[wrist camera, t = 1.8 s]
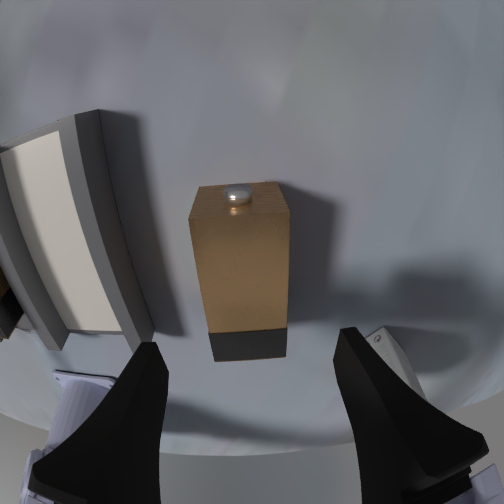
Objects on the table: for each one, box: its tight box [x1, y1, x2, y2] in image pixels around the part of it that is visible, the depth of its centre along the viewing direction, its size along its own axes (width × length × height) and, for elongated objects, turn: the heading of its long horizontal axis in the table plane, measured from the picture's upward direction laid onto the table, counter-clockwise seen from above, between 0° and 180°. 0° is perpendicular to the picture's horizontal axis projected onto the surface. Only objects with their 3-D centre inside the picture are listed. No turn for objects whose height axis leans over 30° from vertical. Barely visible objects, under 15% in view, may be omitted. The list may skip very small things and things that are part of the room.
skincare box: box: [365, 327, 428, 402], centre depth 18 cm, size 6×4×12 cm
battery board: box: [0, 109, 155, 354], centre depth 14 cm, size 15×16×3 cm
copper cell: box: [188, 182, 290, 362], centre depth 15 cm, size 10×4×4 cm, turn 3°
